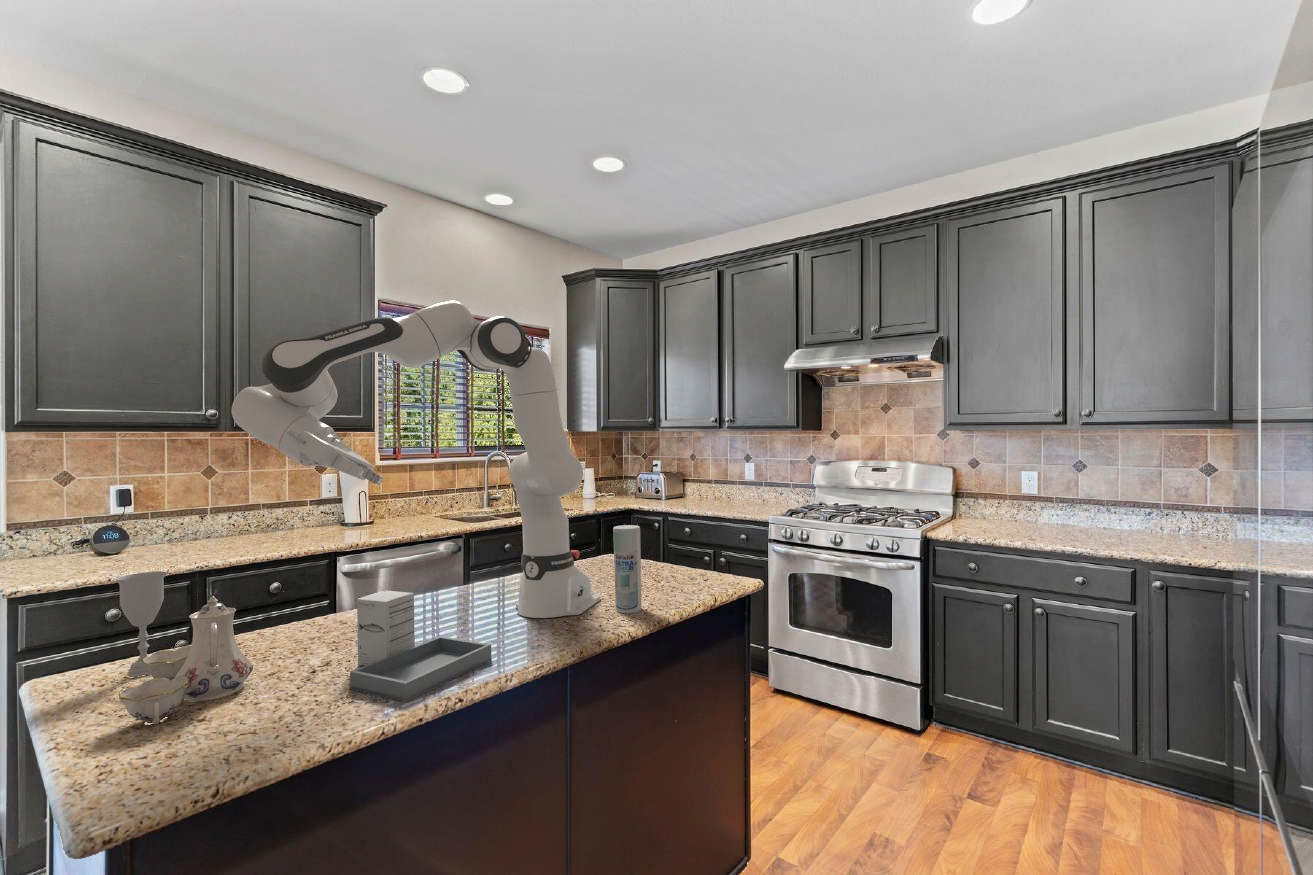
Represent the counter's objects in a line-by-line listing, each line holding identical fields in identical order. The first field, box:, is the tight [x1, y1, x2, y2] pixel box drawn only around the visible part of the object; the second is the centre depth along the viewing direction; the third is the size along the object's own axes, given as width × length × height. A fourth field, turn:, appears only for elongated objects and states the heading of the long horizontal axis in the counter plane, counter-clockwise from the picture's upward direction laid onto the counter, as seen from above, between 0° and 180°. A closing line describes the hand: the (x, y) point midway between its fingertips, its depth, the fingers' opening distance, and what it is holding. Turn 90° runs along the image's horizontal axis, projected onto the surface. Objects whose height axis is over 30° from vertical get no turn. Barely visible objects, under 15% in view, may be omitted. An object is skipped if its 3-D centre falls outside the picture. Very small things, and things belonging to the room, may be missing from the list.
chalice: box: [115, 571, 168, 677], centre depth 113 cm, size 7×7×18 cm
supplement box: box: [356, 589, 416, 666], centre depth 116 cm, size 7×7×13 cm
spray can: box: [612, 524, 642, 614], centre depth 148 cm, size 6×6×20 cm
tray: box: [349, 636, 493, 703], centre depth 109 cm, size 20×13×3 cm, turn 154°
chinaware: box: [118, 595, 254, 725], centre depth 102 cm, size 28×17×17 cm, turn 36°
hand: (371, 477), depth 117 cm, fingers open, 8 cm apart
